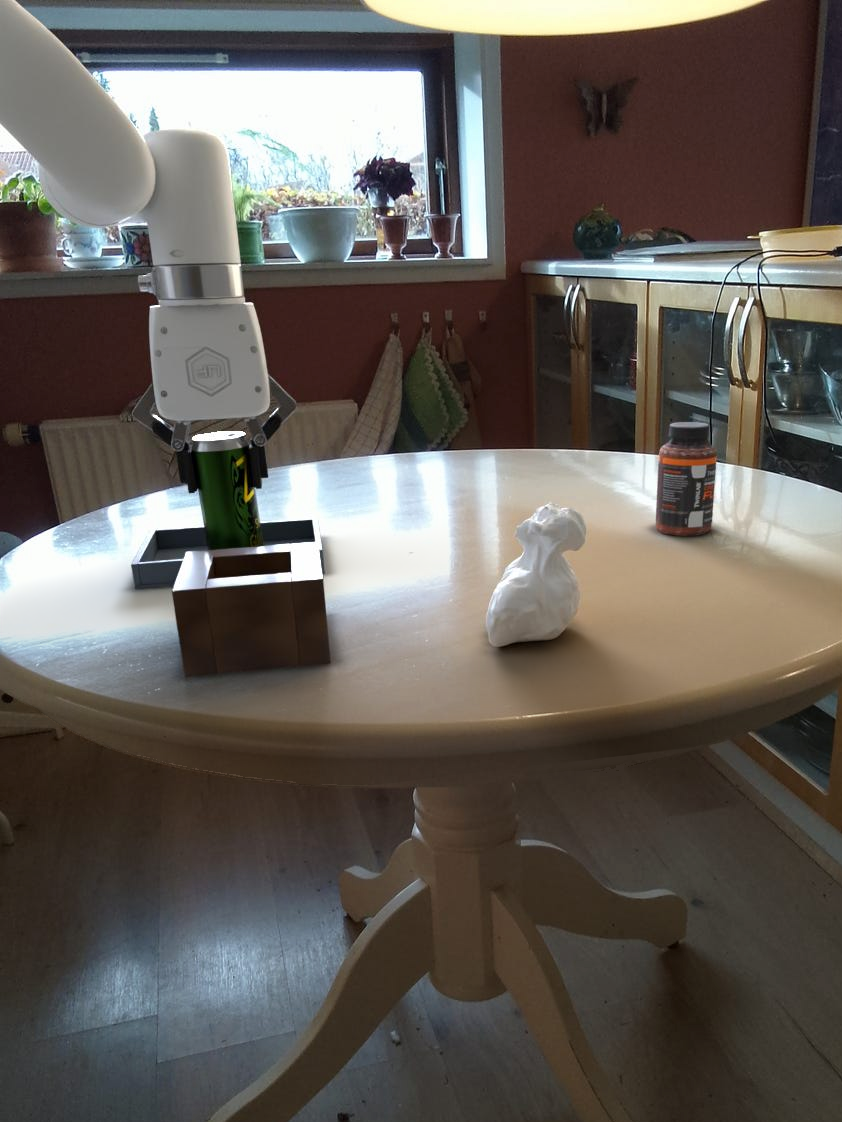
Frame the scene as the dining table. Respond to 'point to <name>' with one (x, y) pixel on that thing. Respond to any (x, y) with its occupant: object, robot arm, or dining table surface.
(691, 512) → the supplement bottle
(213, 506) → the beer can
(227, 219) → the robot arm
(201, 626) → the can holder
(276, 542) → the tray
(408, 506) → the dining table surface
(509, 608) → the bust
